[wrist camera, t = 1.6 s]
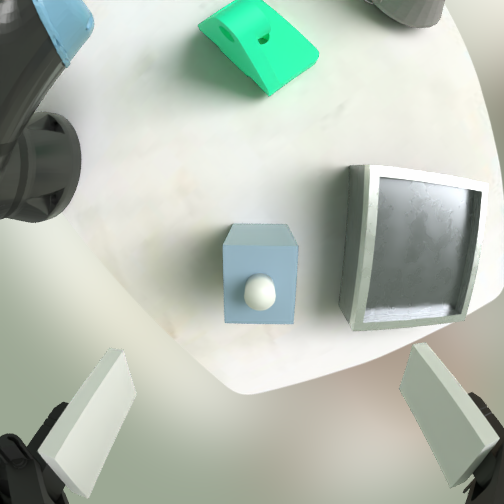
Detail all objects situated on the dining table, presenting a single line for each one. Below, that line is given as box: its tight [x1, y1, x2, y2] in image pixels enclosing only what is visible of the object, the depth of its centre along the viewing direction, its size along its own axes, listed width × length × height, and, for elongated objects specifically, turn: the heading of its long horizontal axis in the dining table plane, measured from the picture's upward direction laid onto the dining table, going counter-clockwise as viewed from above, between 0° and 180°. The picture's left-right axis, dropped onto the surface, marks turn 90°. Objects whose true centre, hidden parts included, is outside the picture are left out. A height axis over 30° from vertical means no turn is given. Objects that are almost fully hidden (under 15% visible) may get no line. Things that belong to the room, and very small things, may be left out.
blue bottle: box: [223, 224, 298, 324], centre depth 28 cm, size 6×7×12 cm
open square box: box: [339, 165, 488, 331], centre depth 30 cm, size 16×17×6 cm
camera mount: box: [198, 0, 319, 96], centre depth 23 cm, size 12×8×10 cm, turn 40°
